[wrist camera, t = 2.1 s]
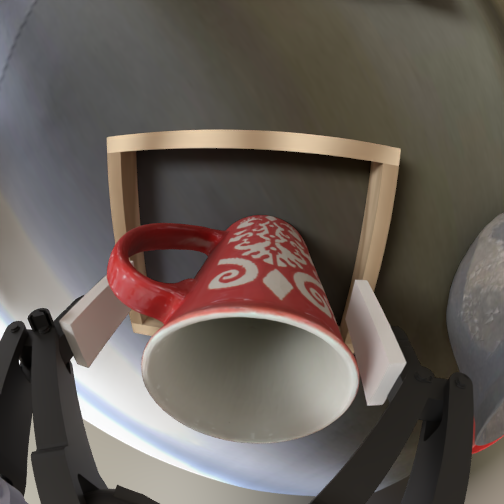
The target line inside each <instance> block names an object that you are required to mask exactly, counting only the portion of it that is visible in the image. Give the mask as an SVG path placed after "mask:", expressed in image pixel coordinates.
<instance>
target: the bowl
mask: <svg viewBox="0 0 504 504" xmlns="http://www.w3.org/2000/svg"><path fill="white" fill-rule="evenodd" d="M446 322H447V329H448V335H449V340H450V343H451V347H452V350H453V354H454V356H455V359H456V362H457V365H458V368H459V371H460V373H463V374H466V375H467V376H468V377H469V378H470V379H471V381H472V384H473V400H474V420H475V444H476V445H477V446H482V445H486V444H488V443H491V442H493V441H495V440H497V439H499V438H500V437H502V436H503V435H504V213H502V214H499V215H498V216H496V217H495V218H494V219H493V220H492V221H491V222H490V223H489V224H488V225H486V226H485V227H484V228H483V229H482V231H481V232H480V233H479V235H478V236H477V237H476V239H475V240H474V242H473V243H472V244H471V246H470V248H469V249H468V251H467V253H466V254H465V256H464V258H463V259H462V261H461V262H460V265H459V267H458V269H457V272H456V274H455V276H454V279H453V282H452V285H451V288H450V293H449V299H448V306H447V313H446Z"/></svg>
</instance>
